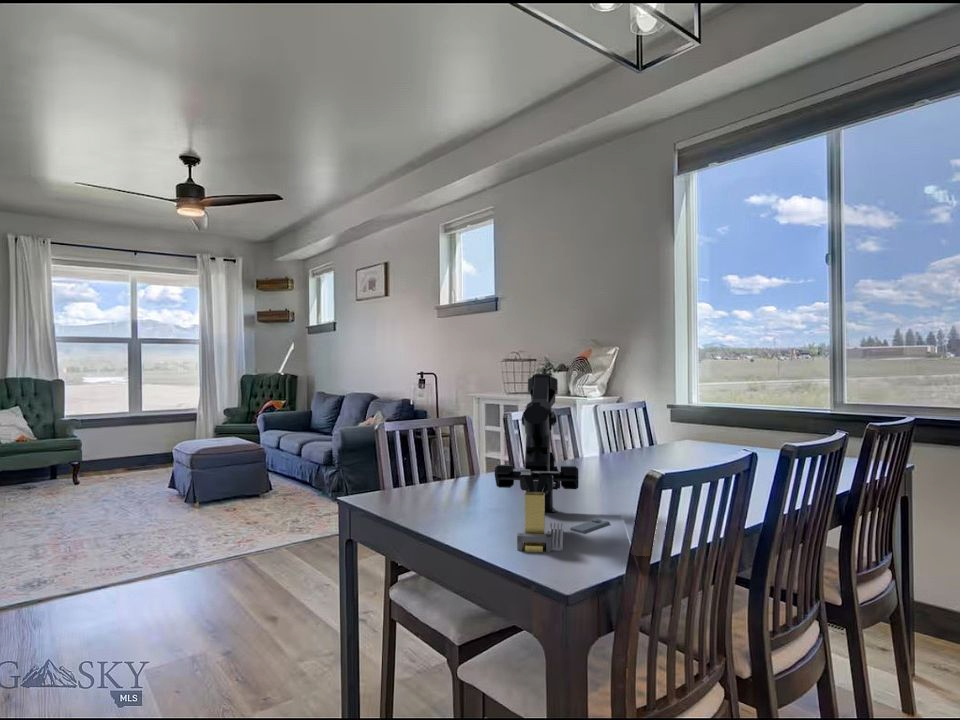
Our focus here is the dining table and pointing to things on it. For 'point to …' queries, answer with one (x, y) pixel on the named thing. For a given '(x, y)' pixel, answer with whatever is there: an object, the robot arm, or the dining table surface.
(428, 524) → the dining table surface
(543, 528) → the yellow rectangular block
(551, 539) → the socket board
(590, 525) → the dark grey flat block
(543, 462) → the robot arm
